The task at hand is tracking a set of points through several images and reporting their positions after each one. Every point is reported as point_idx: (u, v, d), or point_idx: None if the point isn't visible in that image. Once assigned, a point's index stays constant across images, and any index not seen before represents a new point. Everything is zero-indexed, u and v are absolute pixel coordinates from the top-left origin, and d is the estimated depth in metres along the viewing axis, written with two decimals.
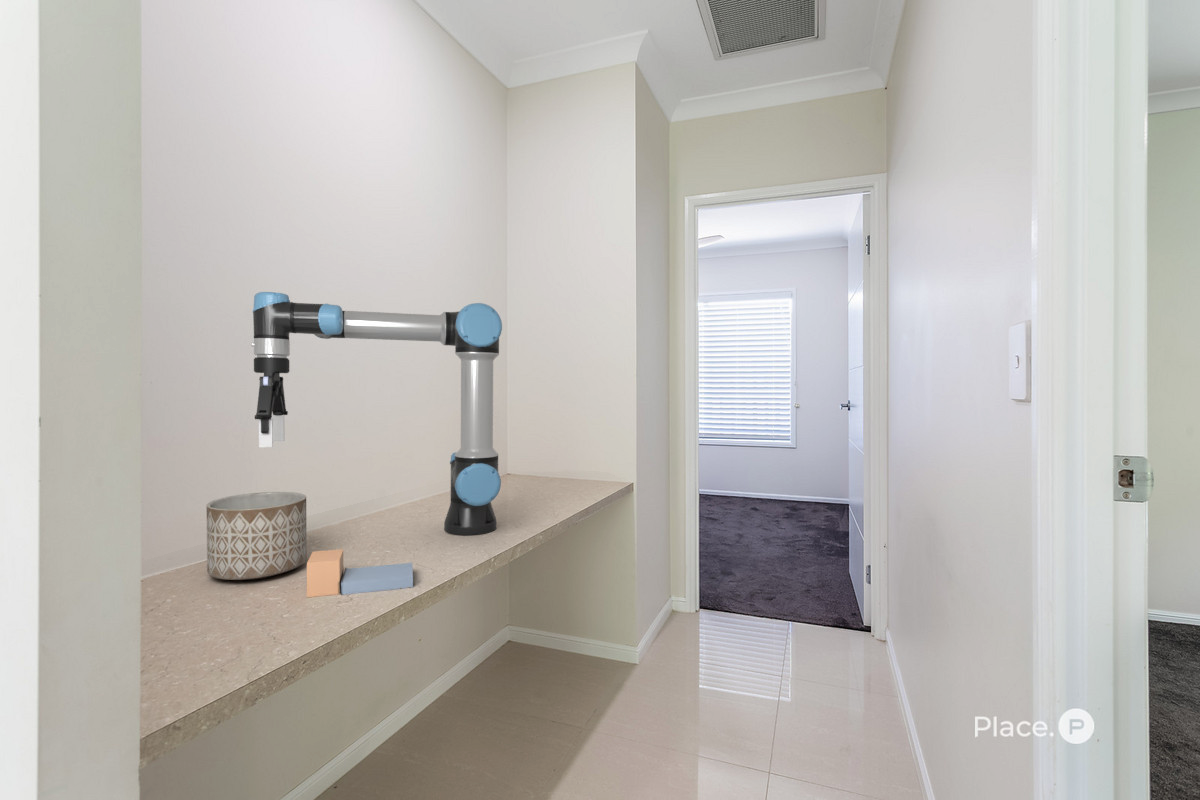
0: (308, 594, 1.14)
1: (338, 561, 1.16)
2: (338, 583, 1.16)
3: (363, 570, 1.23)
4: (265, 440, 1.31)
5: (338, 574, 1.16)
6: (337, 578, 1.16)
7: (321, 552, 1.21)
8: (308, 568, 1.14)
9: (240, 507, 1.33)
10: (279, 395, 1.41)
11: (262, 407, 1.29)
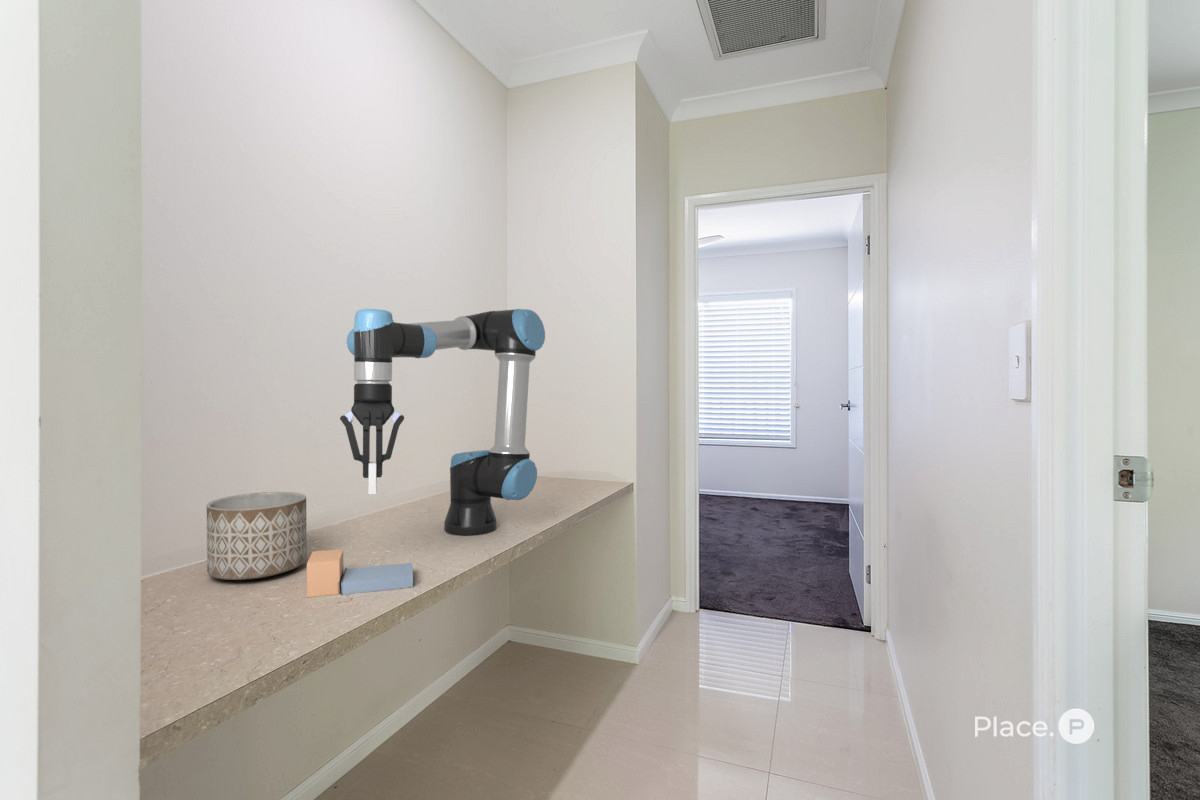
0: (308, 594, 1.14)
1: (338, 561, 1.16)
2: (338, 583, 1.16)
3: (363, 570, 1.23)
4: None
5: (338, 574, 1.16)
6: (337, 578, 1.16)
7: (321, 552, 1.21)
8: (308, 568, 1.14)
9: (240, 507, 1.33)
10: (376, 429, 1.20)
11: None
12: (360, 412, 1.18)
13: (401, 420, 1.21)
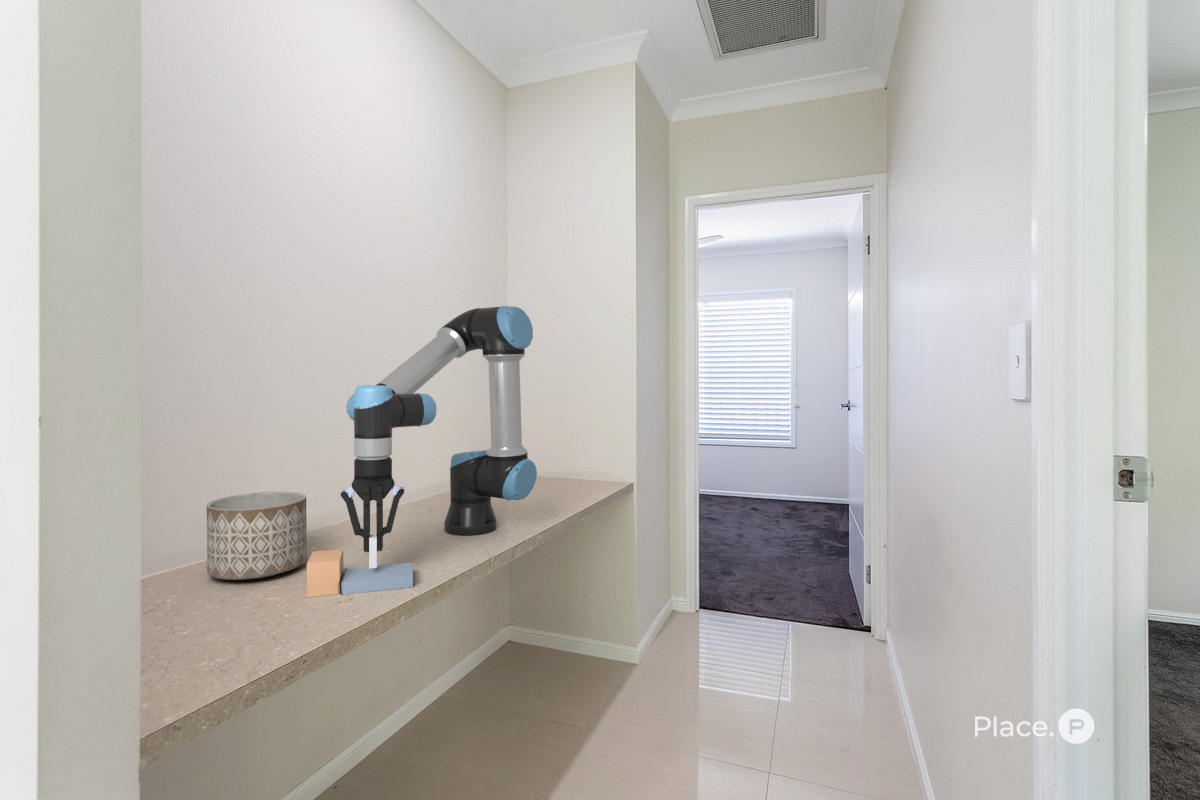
0: (308, 594, 1.14)
1: (338, 561, 1.16)
2: (338, 583, 1.16)
3: (363, 570, 1.23)
4: None
5: (338, 574, 1.16)
6: (337, 578, 1.16)
7: (321, 552, 1.21)
8: (308, 568, 1.14)
9: (240, 507, 1.33)
10: (376, 503, 1.20)
11: None
12: (360, 487, 1.19)
13: (401, 493, 1.22)
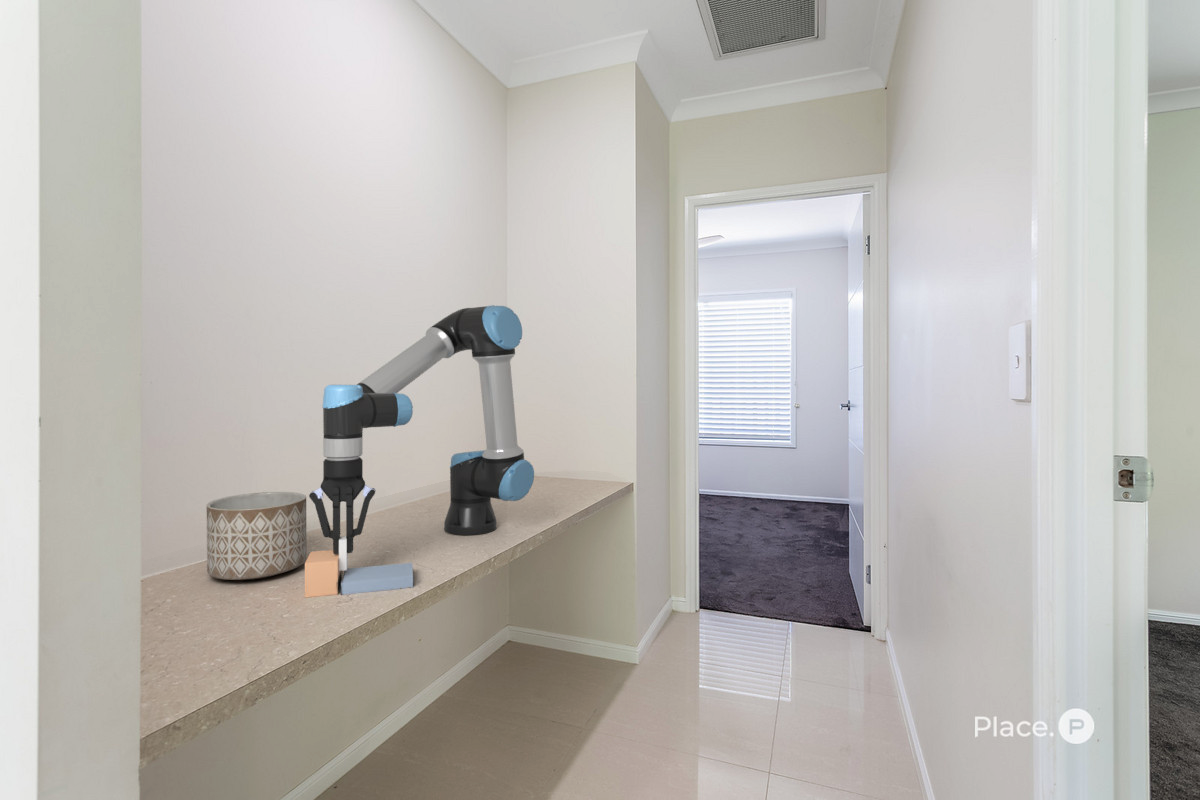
0: (306, 594, 1.14)
1: (336, 561, 1.15)
2: (336, 583, 1.16)
3: (363, 570, 1.23)
4: None
5: (336, 574, 1.16)
6: (335, 578, 1.15)
7: (319, 552, 1.20)
8: (306, 568, 1.14)
9: (240, 507, 1.33)
10: (346, 505, 1.18)
11: None
12: (330, 488, 1.17)
13: (372, 495, 1.20)
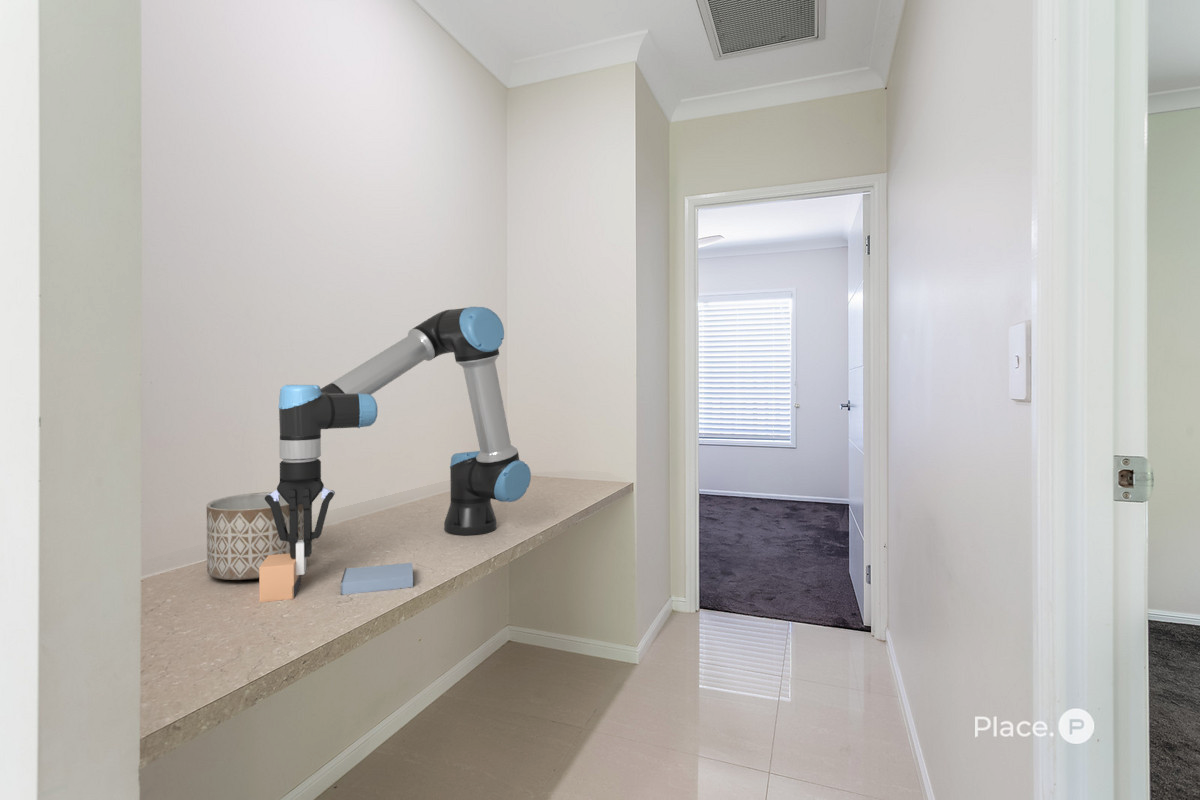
0: (261, 599, 1.11)
1: (292, 565, 1.13)
2: (292, 587, 1.13)
3: (363, 570, 1.23)
4: None
5: (292, 578, 1.13)
6: (291, 582, 1.13)
7: (276, 556, 1.18)
8: (261, 572, 1.11)
9: (240, 507, 1.33)
10: None
11: None
12: (286, 491, 1.14)
13: (330, 497, 1.17)
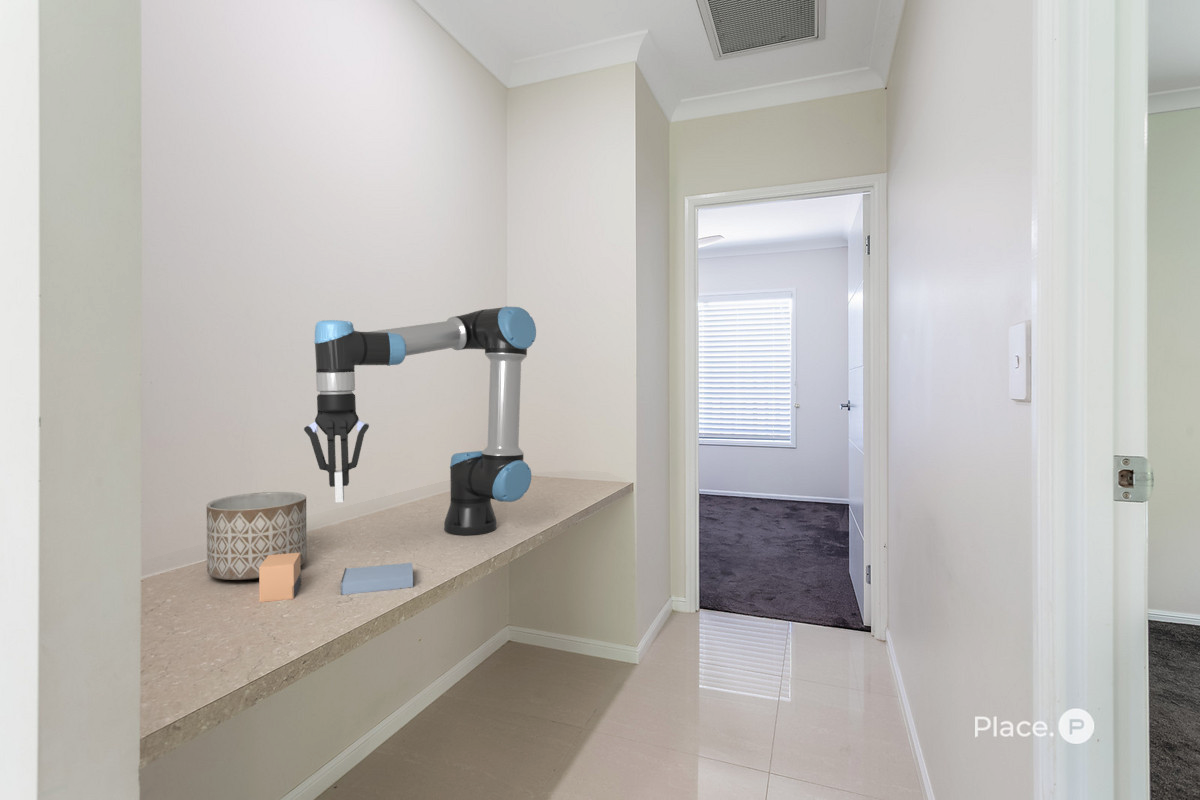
0: (261, 599, 1.11)
1: (292, 565, 1.13)
2: (292, 587, 1.13)
3: (363, 570, 1.23)
4: None
5: (292, 578, 1.13)
6: (291, 582, 1.13)
7: (276, 556, 1.18)
8: (261, 572, 1.11)
9: (240, 507, 1.33)
10: (340, 438, 1.21)
11: None
12: (324, 422, 1.20)
13: (365, 429, 1.23)
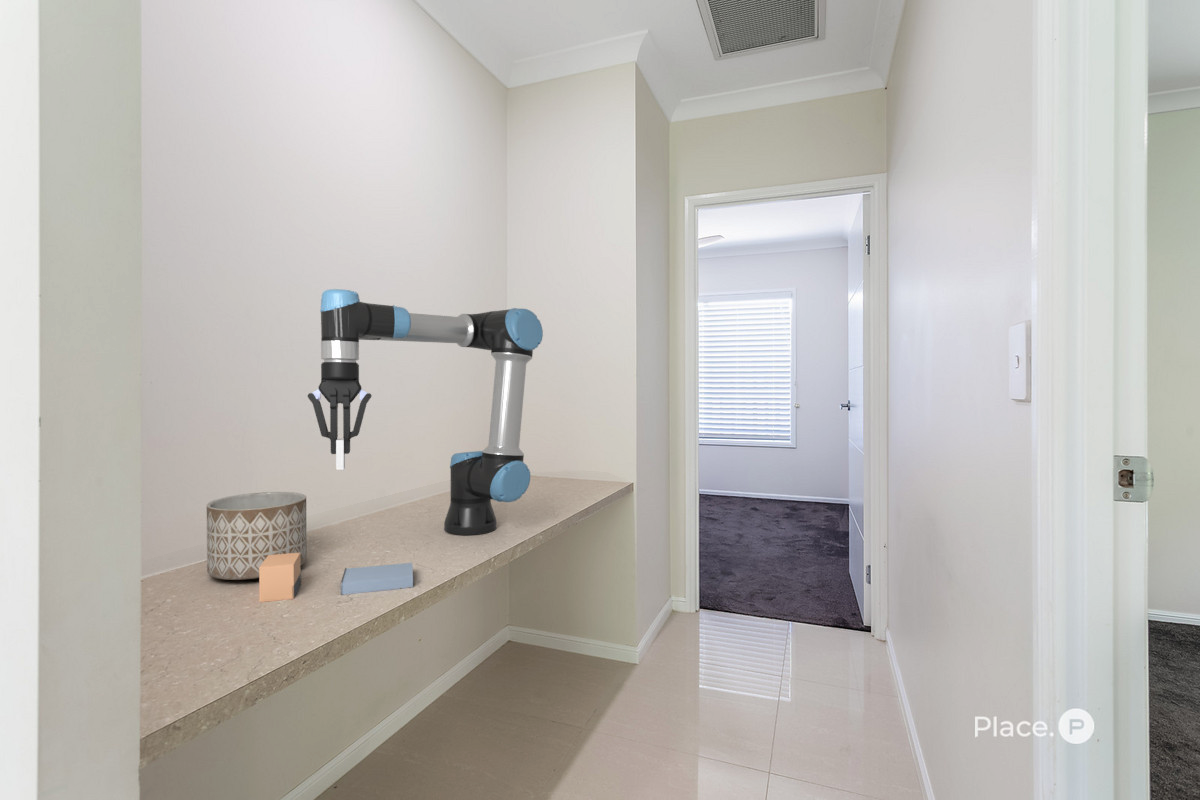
0: (261, 599, 1.11)
1: (292, 565, 1.13)
2: (292, 587, 1.13)
3: (363, 570, 1.23)
4: None
5: (292, 578, 1.13)
6: (291, 582, 1.13)
7: (276, 556, 1.18)
8: (261, 572, 1.11)
9: (240, 507, 1.33)
10: (343, 406, 1.23)
11: None
12: (327, 390, 1.22)
13: (368, 398, 1.24)
